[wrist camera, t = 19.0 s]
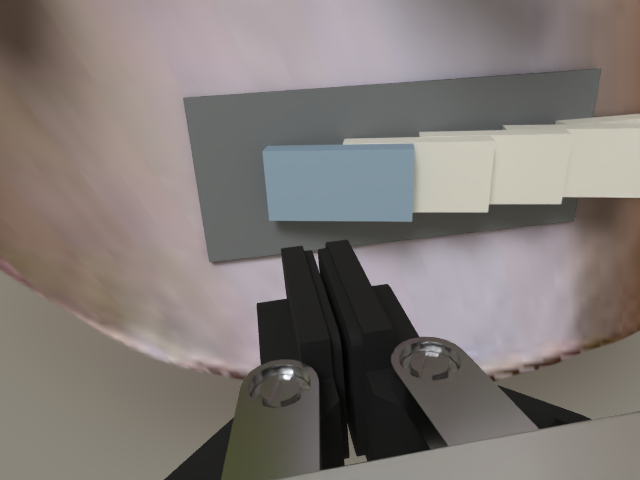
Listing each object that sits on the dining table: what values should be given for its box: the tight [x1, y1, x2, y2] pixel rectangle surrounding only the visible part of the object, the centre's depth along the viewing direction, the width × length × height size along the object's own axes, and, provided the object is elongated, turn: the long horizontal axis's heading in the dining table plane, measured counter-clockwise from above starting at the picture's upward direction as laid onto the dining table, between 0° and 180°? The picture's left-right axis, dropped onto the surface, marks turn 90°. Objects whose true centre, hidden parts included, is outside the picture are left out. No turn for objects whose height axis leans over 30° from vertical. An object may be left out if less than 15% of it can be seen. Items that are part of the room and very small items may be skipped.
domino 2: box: [419, 129, 573, 204], centre depth 35 cm, size 2×5×10 cm
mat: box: [183, 69, 601, 262], centre depth 36 cm, size 30×12×1 cm, turn 93°
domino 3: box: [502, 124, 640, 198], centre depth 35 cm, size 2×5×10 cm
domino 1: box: [343, 136, 495, 212], centre depth 34 cm, size 2×5×10 cm
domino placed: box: [262, 143, 415, 222], centre depth 33 cm, size 2×5×10 cm
